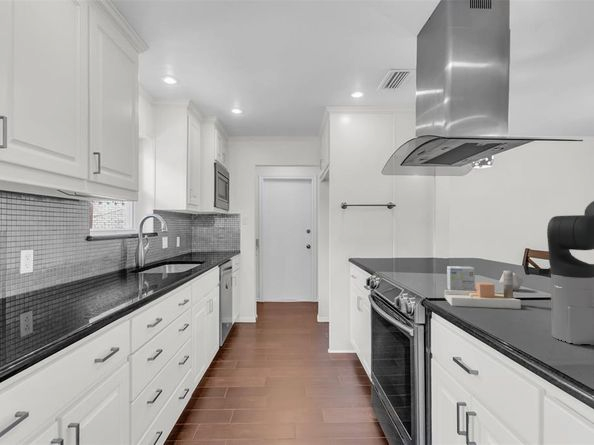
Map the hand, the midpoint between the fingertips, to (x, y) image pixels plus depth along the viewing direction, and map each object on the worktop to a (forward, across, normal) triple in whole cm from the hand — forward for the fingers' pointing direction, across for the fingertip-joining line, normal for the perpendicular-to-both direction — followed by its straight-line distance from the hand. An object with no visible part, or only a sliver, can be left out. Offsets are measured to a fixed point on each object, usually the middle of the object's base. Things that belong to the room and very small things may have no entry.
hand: (543, 272), depth 121 cm
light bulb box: (+22, -26, +13) cm, 37 cm away
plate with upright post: (+16, -2, +11) cm, 20 cm away
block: (+19, -2, +10) cm, 22 cm away
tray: (+21, -2, +13) cm, 24 cm away
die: (0, -30, +12) cm, 32 cm away
